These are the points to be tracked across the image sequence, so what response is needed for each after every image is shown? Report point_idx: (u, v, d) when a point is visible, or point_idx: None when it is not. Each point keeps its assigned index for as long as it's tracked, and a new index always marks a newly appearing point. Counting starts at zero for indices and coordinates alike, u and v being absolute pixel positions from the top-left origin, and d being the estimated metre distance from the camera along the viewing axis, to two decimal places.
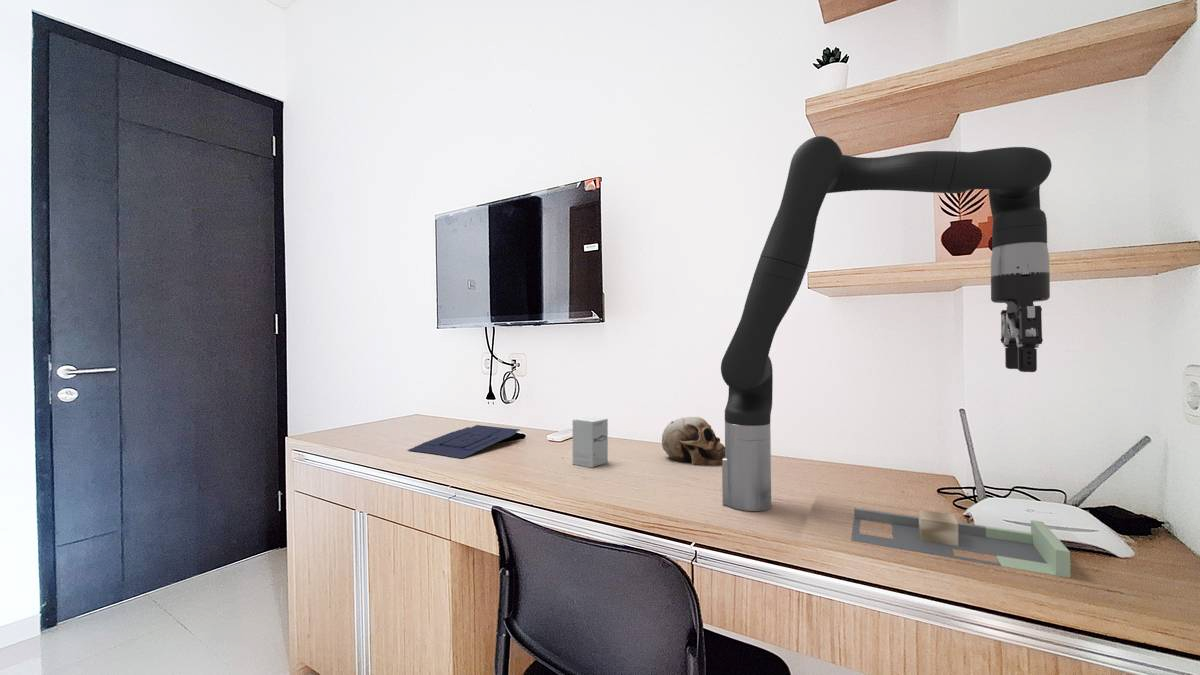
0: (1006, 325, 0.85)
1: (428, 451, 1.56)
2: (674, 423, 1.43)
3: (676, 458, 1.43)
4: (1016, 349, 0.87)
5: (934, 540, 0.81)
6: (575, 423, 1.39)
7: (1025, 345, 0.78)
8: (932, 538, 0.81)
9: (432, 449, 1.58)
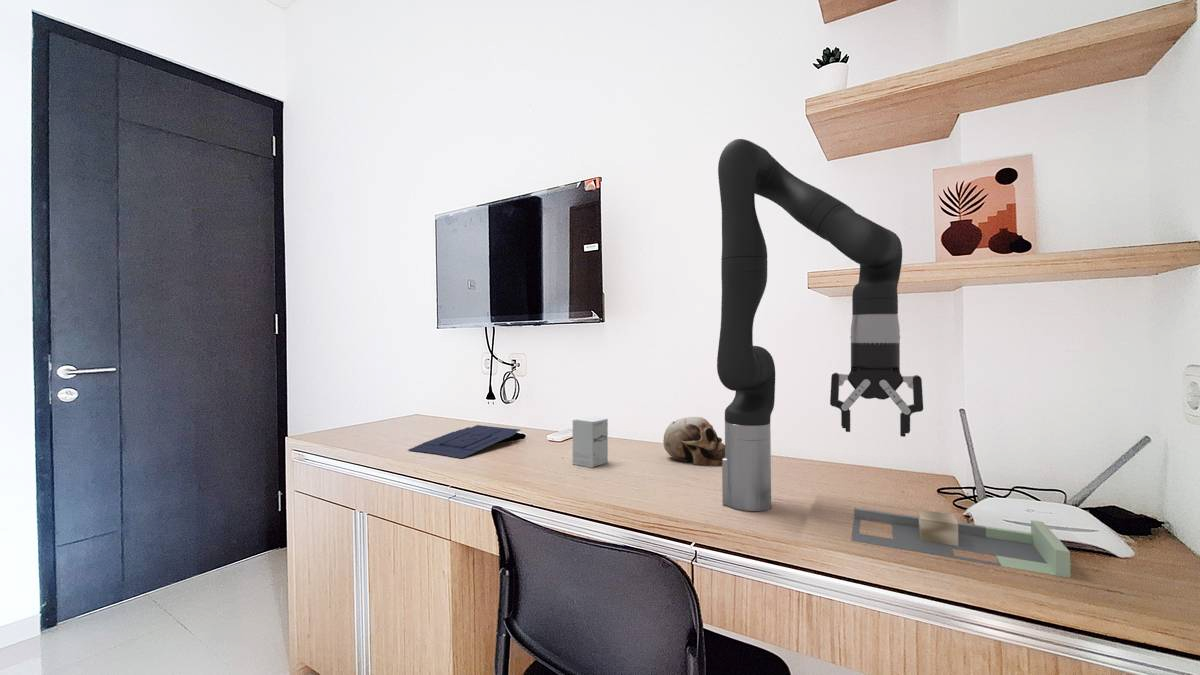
0: (864, 390, 0.87)
1: (428, 451, 1.56)
2: (676, 423, 1.43)
3: (678, 458, 1.43)
4: None
5: (934, 540, 0.81)
6: (575, 423, 1.39)
7: (914, 412, 0.84)
8: (932, 538, 0.81)
9: (432, 448, 1.58)
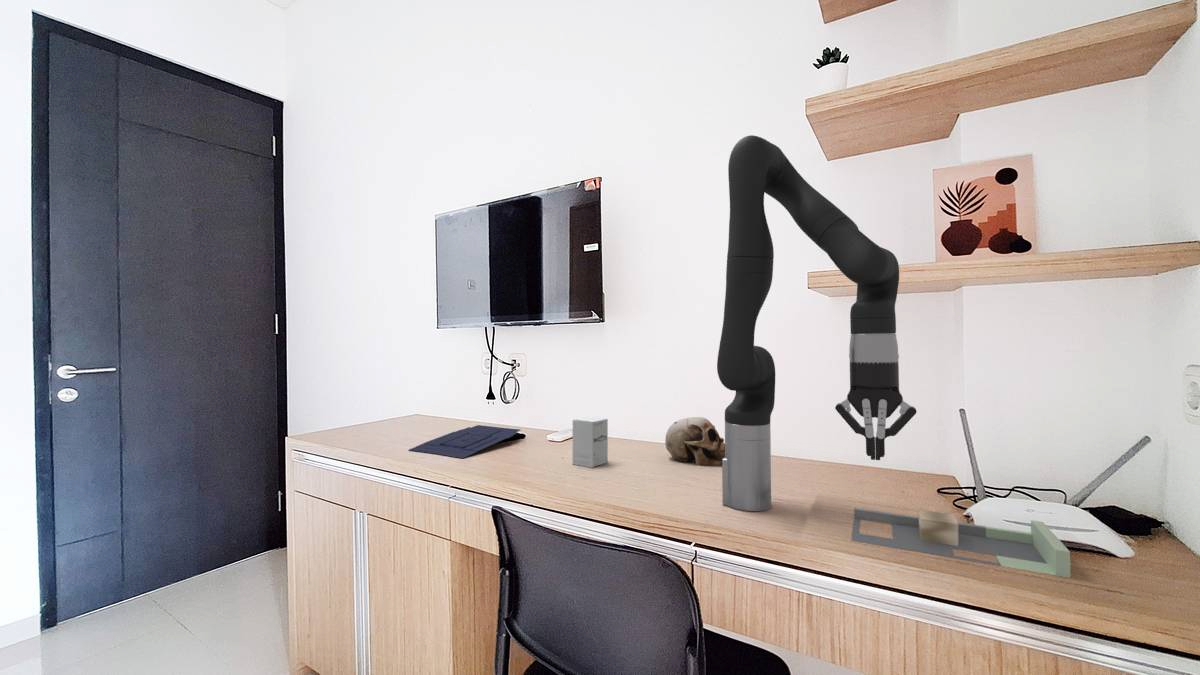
0: (870, 409, 0.86)
1: (429, 451, 1.56)
2: (678, 423, 1.43)
3: (680, 458, 1.42)
4: None
5: (934, 540, 0.81)
6: (575, 423, 1.39)
7: (888, 436, 0.86)
8: (932, 538, 0.81)
9: (432, 448, 1.58)
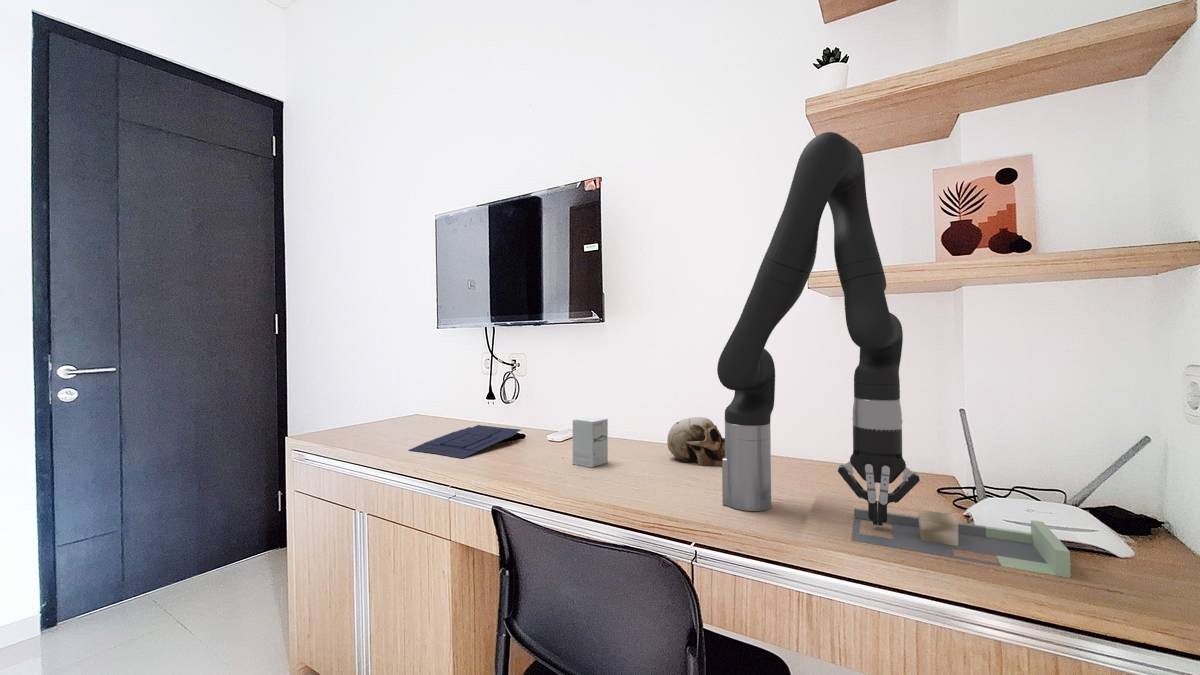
0: (873, 474, 0.86)
1: (429, 451, 1.56)
2: (680, 423, 1.43)
3: (682, 459, 1.42)
4: None
5: (934, 540, 0.81)
6: (575, 423, 1.39)
7: (890, 502, 0.86)
8: (932, 538, 0.81)
9: (433, 448, 1.58)
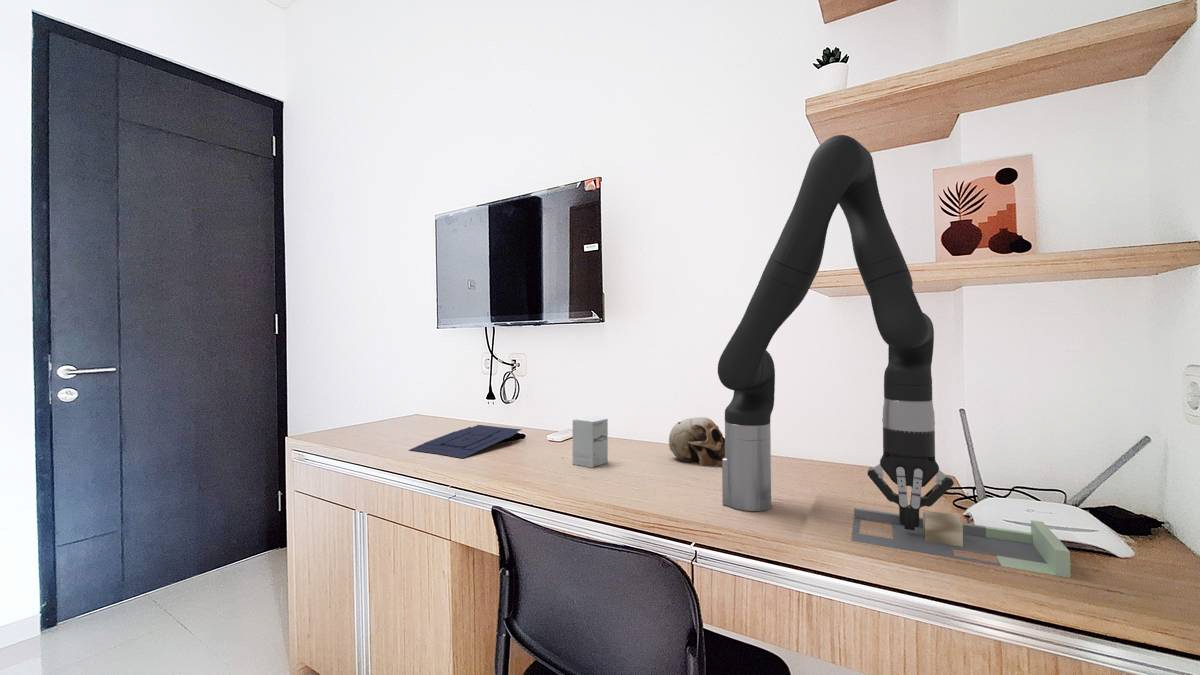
0: (905, 477, 0.84)
1: (429, 451, 1.56)
2: (681, 424, 1.42)
3: (683, 459, 1.42)
4: None
5: (939, 541, 0.81)
6: (575, 423, 1.39)
7: (923, 506, 0.83)
8: (936, 538, 0.81)
9: (433, 448, 1.58)
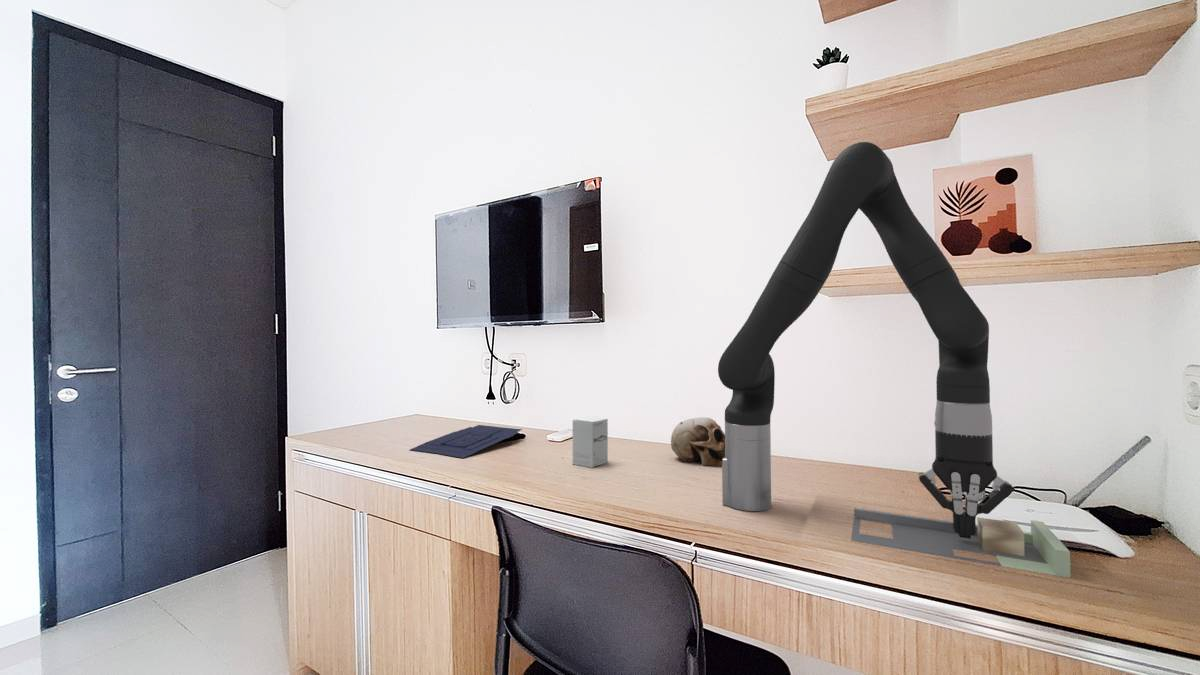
0: (960, 483, 0.80)
1: (430, 451, 1.56)
2: (683, 424, 1.42)
3: (686, 459, 1.42)
4: None
5: (998, 550, 0.77)
6: (575, 423, 1.39)
7: (979, 513, 0.80)
8: (995, 547, 0.77)
9: (433, 448, 1.59)
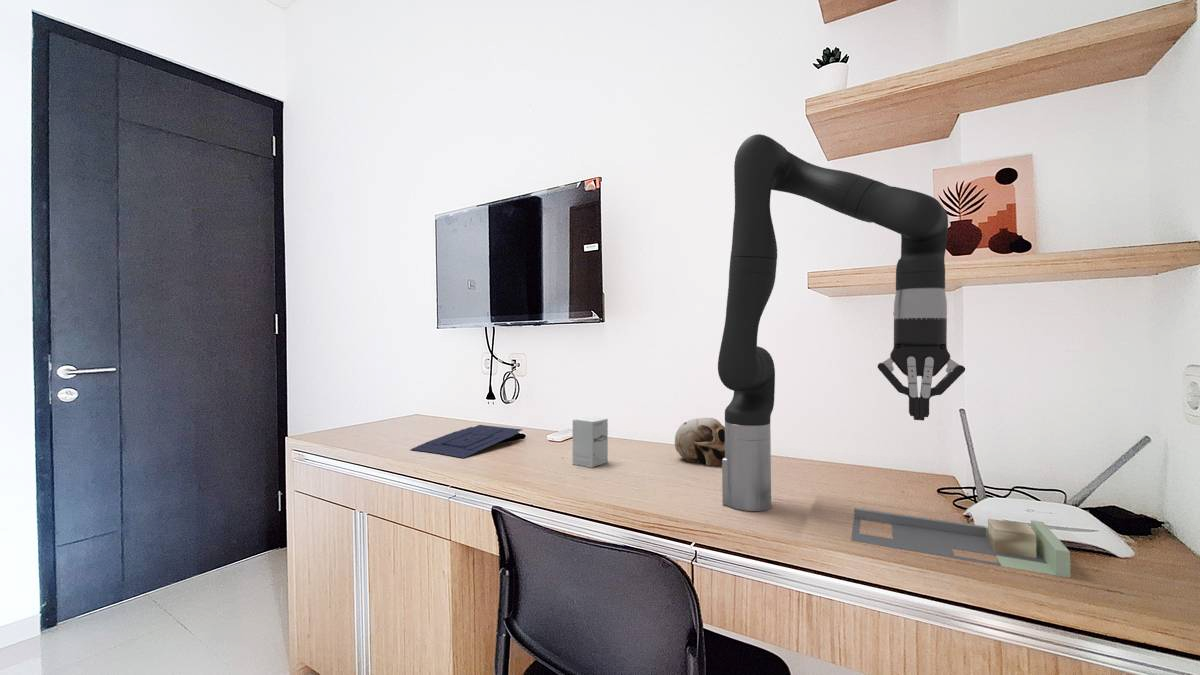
0: (915, 367, 0.83)
1: (430, 450, 1.57)
2: (687, 424, 1.42)
3: (690, 459, 1.41)
4: None
5: (1009, 552, 0.76)
6: (575, 423, 1.39)
7: (933, 395, 0.83)
8: (1006, 549, 0.77)
9: (434, 448, 1.59)
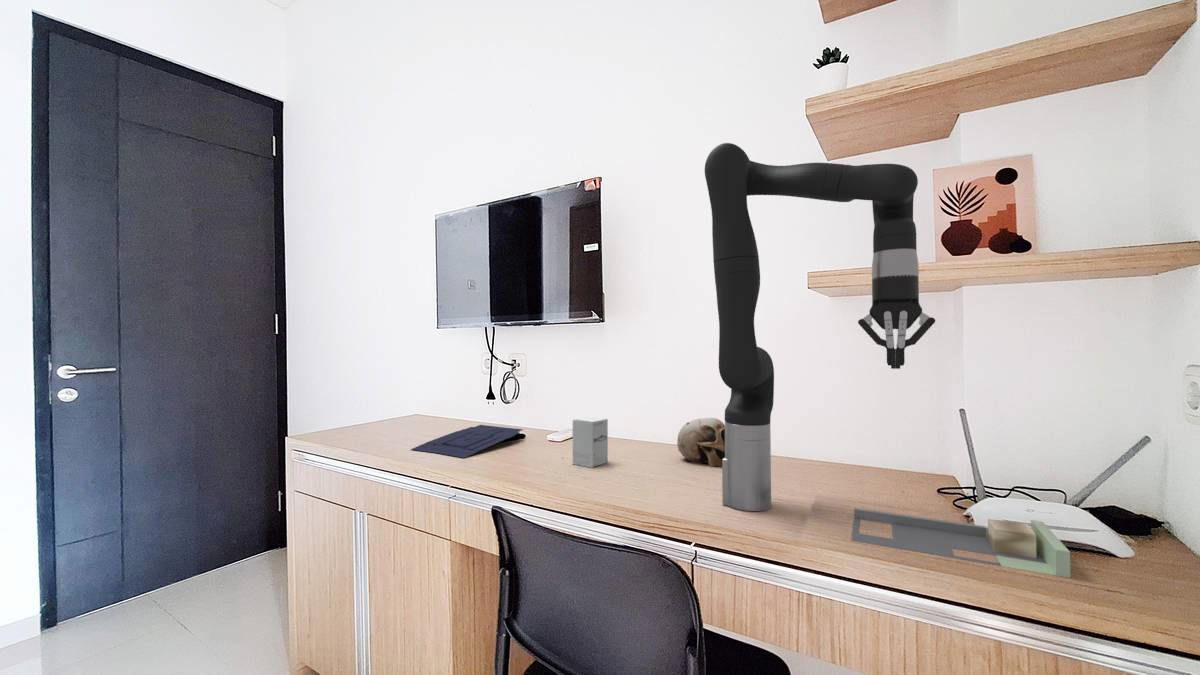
0: (891, 321, 0.93)
1: (431, 450, 1.57)
2: (690, 424, 1.41)
3: (692, 460, 1.41)
4: (895, 350, 0.94)
5: (1009, 552, 0.76)
6: (575, 423, 1.39)
7: None
8: (1006, 549, 0.77)
9: (434, 448, 1.59)
